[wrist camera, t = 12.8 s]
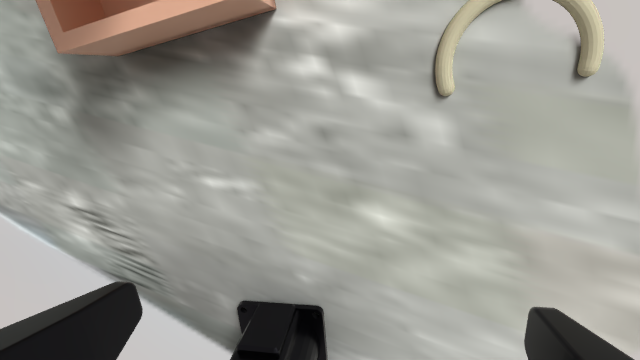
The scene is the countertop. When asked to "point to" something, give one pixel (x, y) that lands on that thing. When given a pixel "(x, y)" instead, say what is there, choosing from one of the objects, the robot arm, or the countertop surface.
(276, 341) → the robot arm
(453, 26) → the handle
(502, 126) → the countertop surface
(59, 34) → the box
